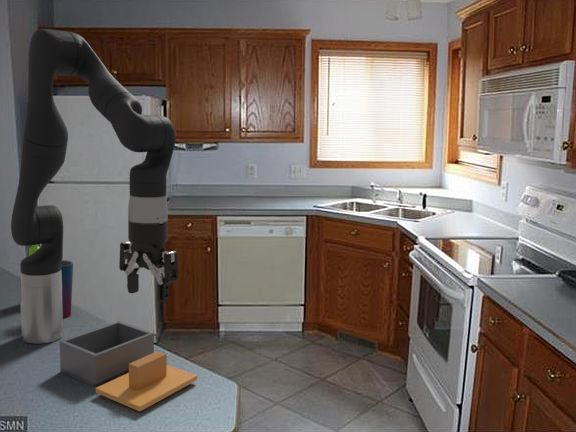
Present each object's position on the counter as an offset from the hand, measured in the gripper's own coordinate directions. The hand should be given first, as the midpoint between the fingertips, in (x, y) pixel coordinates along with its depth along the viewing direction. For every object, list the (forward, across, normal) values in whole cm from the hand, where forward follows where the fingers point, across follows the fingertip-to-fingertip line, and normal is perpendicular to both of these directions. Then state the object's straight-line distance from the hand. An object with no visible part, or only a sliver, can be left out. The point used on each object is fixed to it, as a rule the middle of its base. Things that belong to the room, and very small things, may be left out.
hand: (147, 296), depth 113 cm
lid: (+20, 0, 0) cm, 20 cm away
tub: (+20, -15, +2) cm, 25 cm away
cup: (+20, -51, +15) cm, 57 cm away
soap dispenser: (+20, -65, +17) cm, 70 cm away
